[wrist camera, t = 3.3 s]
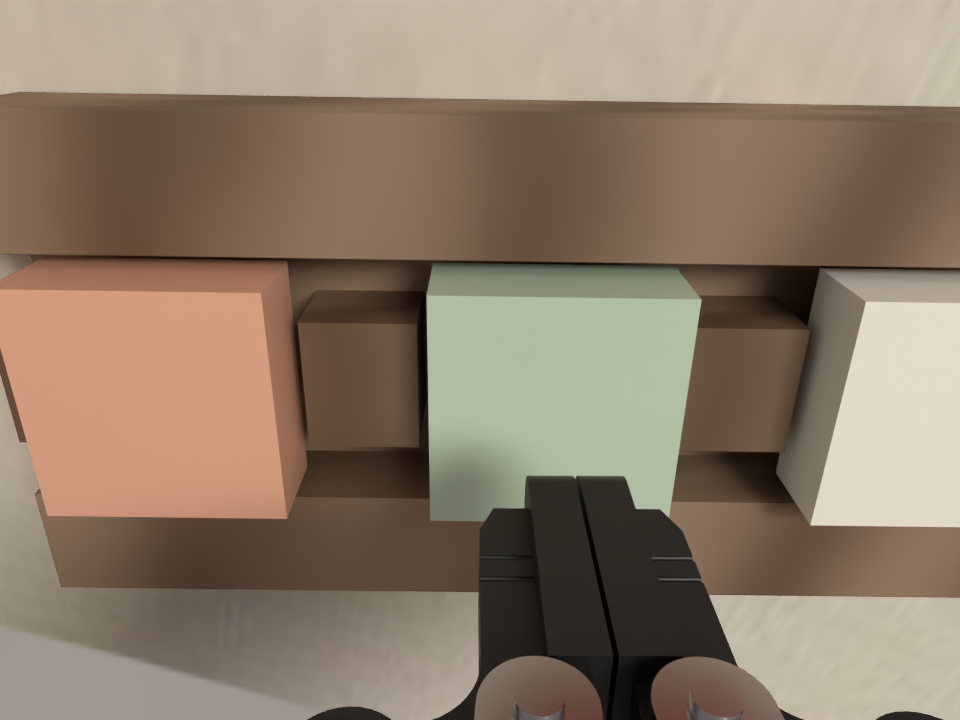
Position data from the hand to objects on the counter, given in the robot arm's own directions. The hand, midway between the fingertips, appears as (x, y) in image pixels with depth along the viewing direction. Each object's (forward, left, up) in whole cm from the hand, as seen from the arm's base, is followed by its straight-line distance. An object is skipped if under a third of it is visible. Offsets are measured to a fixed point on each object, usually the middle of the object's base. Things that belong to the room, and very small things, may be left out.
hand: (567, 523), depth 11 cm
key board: (0, 0, -7) cm, 7 cm away
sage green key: (0, 0, -5) cm, 5 cm away
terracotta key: (+8, 0, -5) cm, 9 cm away
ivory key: (-8, 0, -5) cm, 10 cm away
